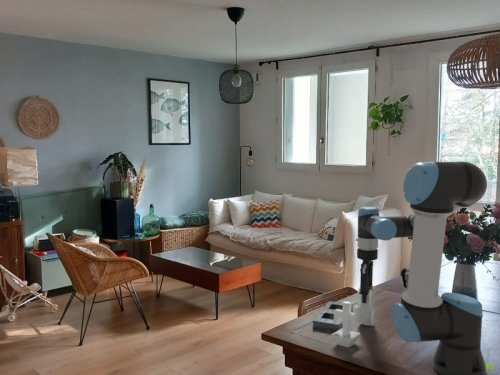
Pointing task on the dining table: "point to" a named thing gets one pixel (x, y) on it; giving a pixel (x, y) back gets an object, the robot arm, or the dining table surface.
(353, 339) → the figurine
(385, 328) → the dining table surface
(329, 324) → the dark grey flat block
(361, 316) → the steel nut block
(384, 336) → the dining table surface
